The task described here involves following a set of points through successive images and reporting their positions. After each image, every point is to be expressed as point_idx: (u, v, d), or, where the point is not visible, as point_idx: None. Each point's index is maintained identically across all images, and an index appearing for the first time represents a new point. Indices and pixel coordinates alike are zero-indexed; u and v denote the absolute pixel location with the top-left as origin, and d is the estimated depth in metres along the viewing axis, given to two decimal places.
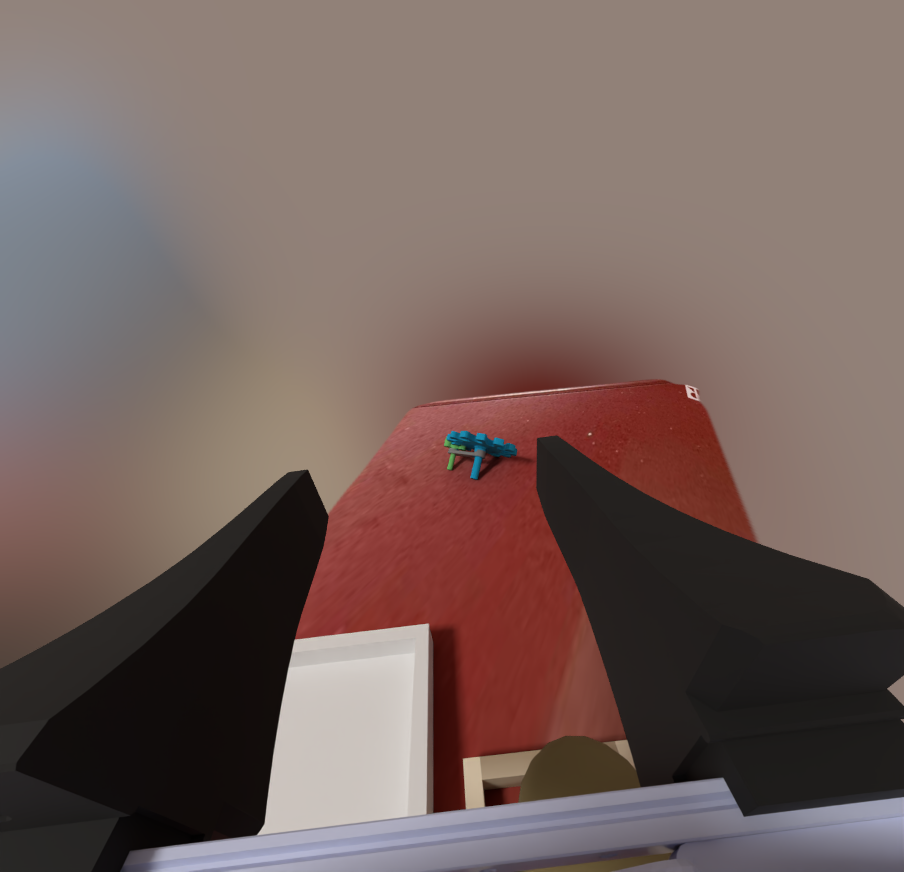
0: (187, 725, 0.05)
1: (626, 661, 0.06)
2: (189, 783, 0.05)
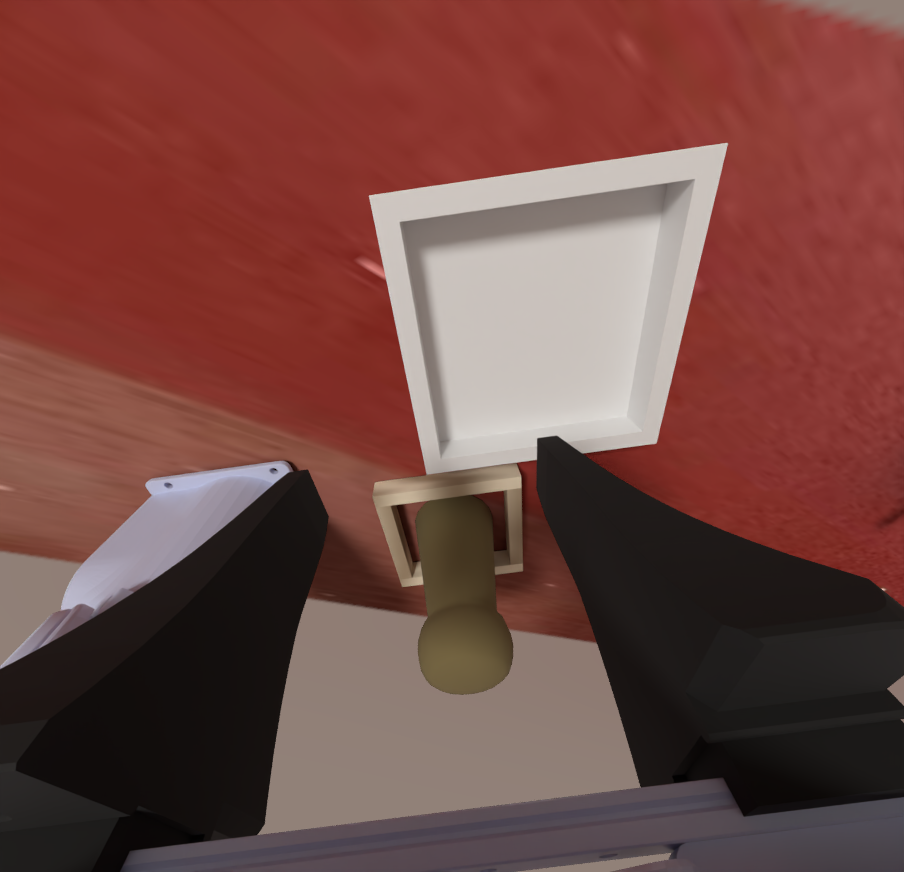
0: (187, 725, 0.05)
1: (626, 661, 0.06)
2: (189, 783, 0.05)
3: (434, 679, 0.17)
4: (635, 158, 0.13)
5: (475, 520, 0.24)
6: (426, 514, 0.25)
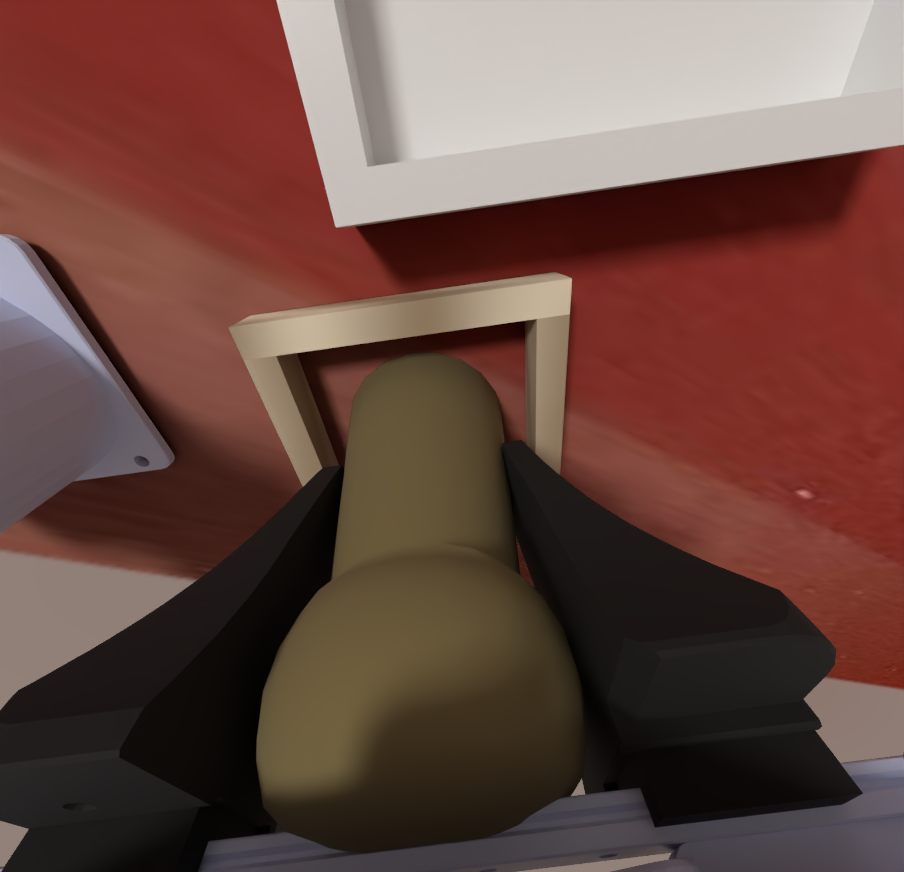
0: (253, 717, 0.05)
1: None
2: (256, 775, 0.05)
3: (292, 833, 0.04)
4: None
5: (466, 393, 0.11)
6: (364, 391, 0.12)
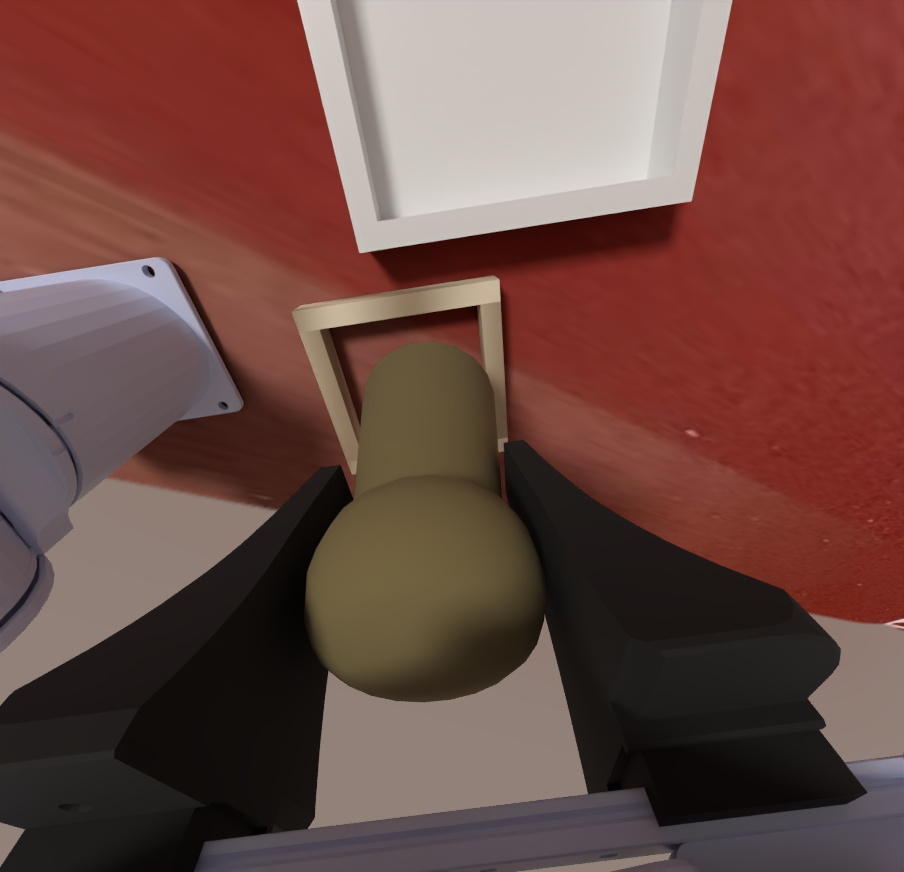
0: (250, 717, 0.05)
1: (572, 668, 0.06)
2: (253, 775, 0.05)
3: (332, 660, 0.06)
4: None
5: (459, 372, 0.13)
6: (373, 377, 0.14)
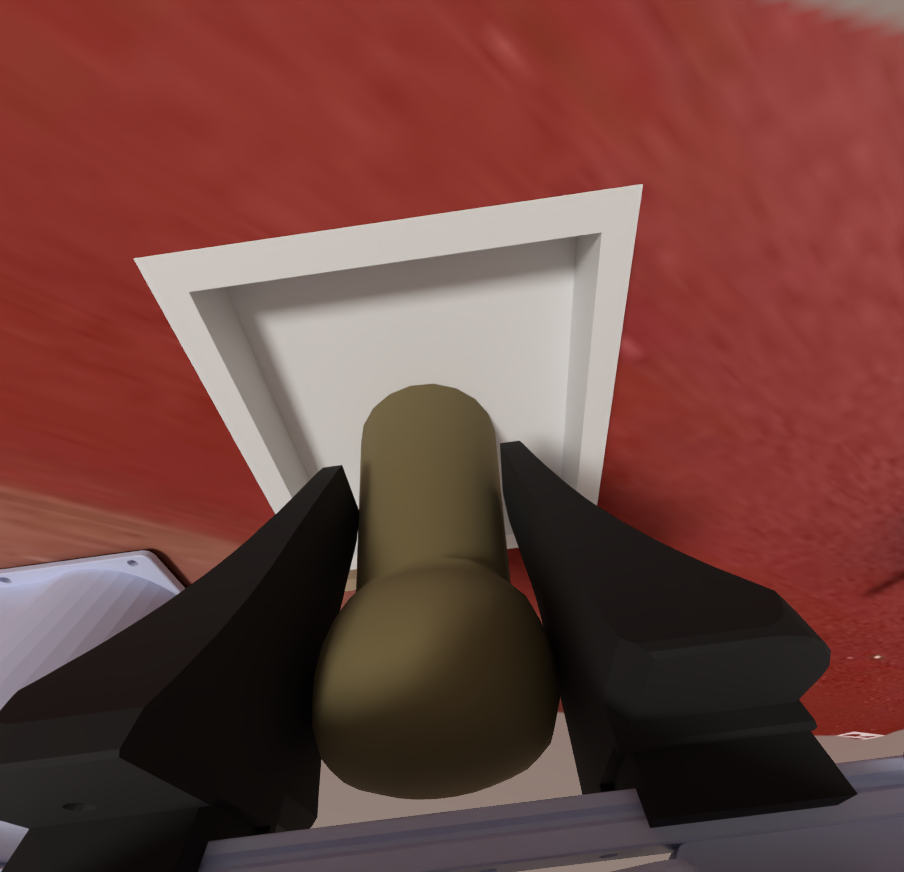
0: (253, 717, 0.05)
1: (567, 669, 0.06)
2: (256, 775, 0.05)
3: (343, 775, 0.06)
4: (511, 206, 0.09)
5: (461, 421, 0.12)
6: (373, 422, 0.13)
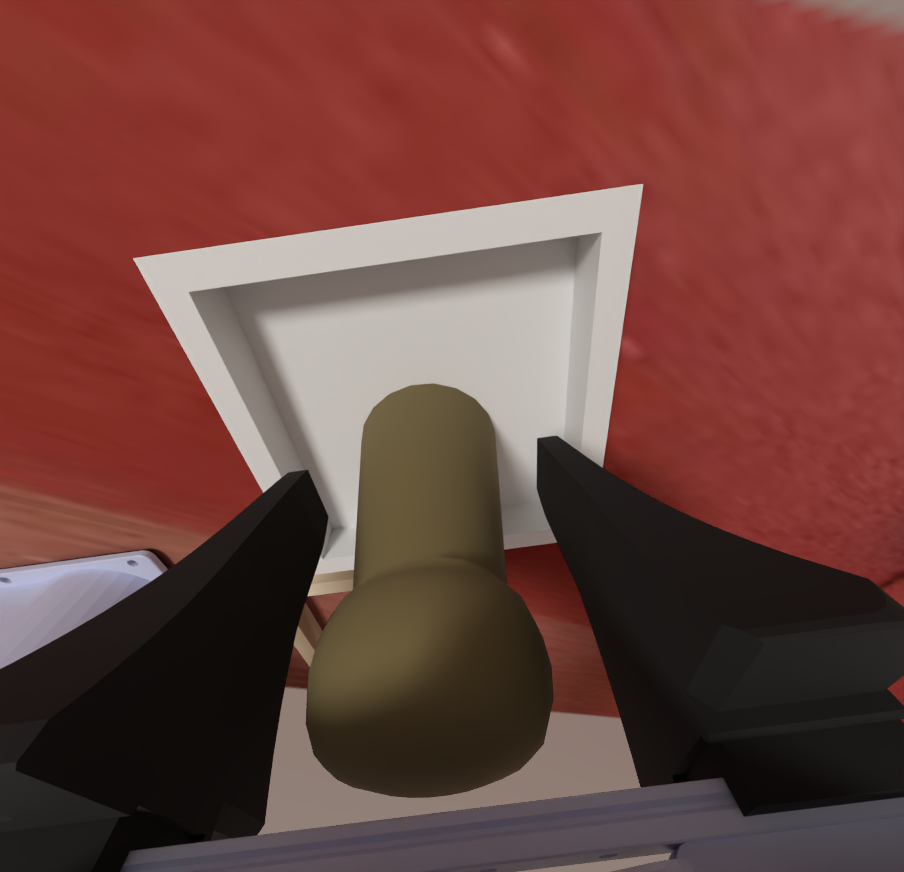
0: (187, 725, 0.05)
1: (626, 661, 0.06)
2: (189, 783, 0.05)
3: (335, 772, 0.06)
4: (511, 205, 0.09)
5: (461, 420, 0.12)
6: (373, 421, 0.13)
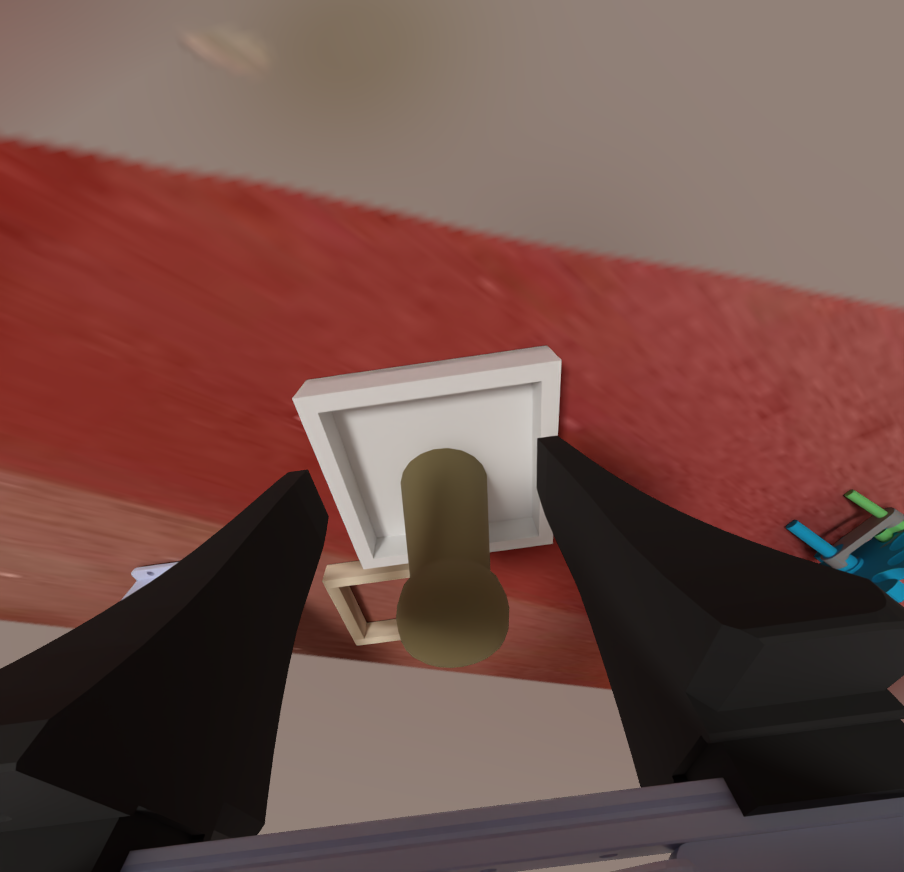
0: (187, 725, 0.05)
1: (626, 661, 0.06)
2: (189, 783, 0.05)
3: (414, 648, 0.14)
4: (492, 371, 0.18)
5: (465, 474, 0.21)
6: (410, 472, 0.22)
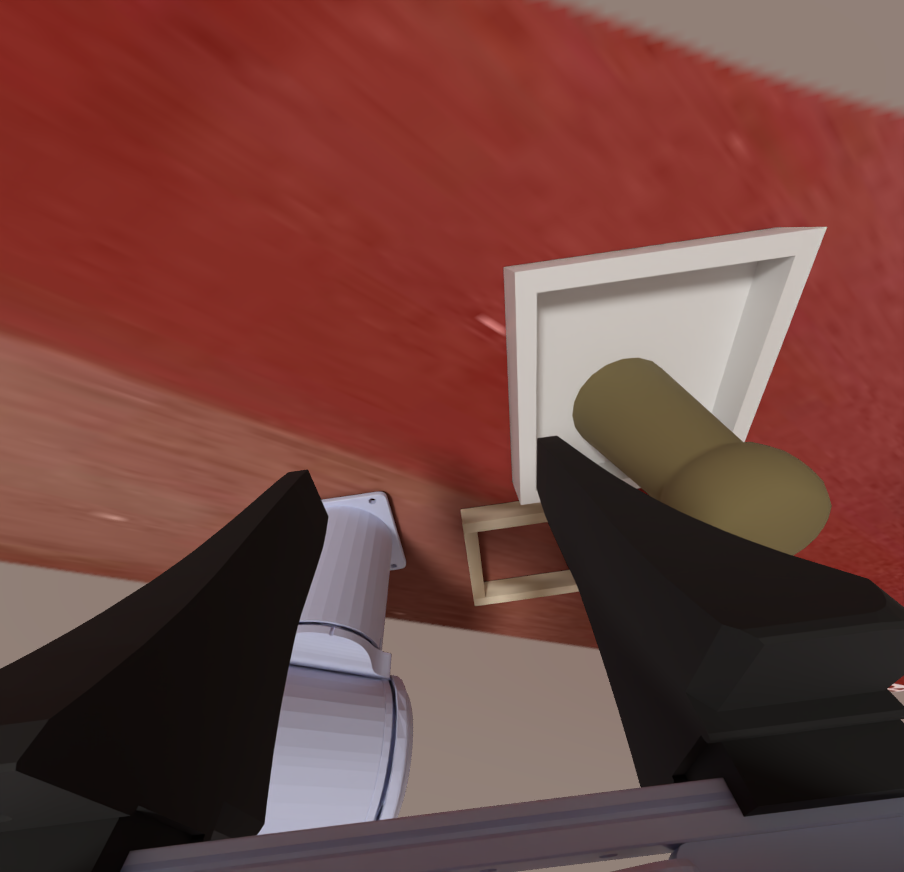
0: (187, 725, 0.05)
1: (626, 661, 0.06)
2: (189, 783, 0.05)
3: None
4: (746, 240, 0.15)
5: (673, 380, 0.18)
6: (600, 383, 0.19)
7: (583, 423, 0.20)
